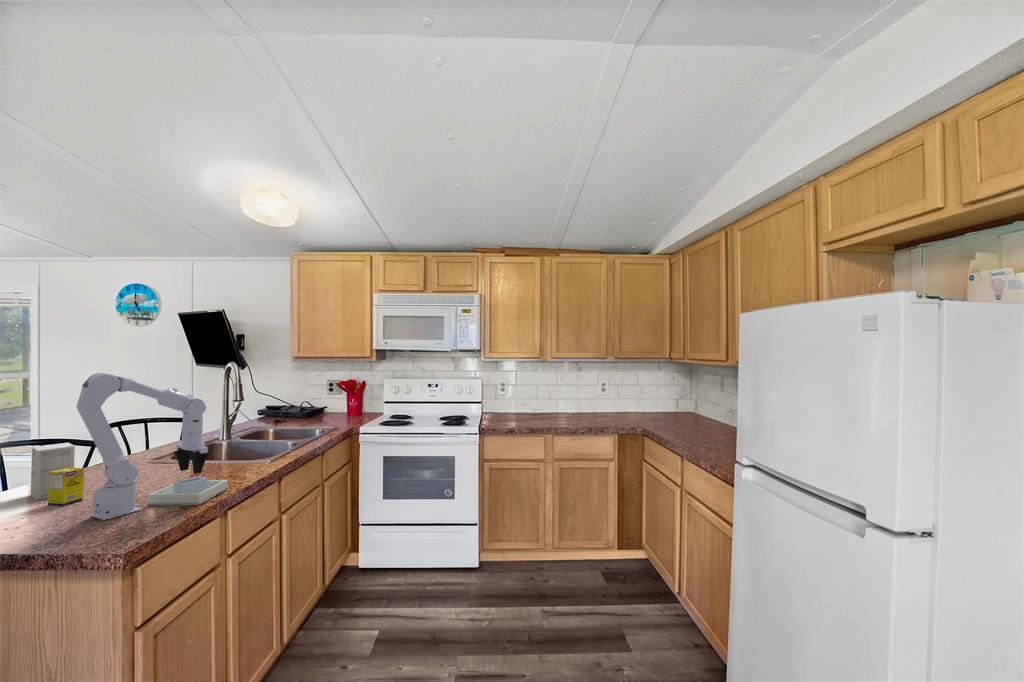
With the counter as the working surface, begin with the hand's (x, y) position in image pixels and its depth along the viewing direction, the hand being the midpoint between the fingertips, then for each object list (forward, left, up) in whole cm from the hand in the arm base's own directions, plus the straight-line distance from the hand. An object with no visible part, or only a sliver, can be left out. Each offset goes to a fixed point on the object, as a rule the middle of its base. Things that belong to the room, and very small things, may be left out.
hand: (190, 471), depth 149 cm
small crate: (0, 0, -8) cm, 8 cm away
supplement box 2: (-19, +45, -9) cm, 50 cm away
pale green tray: (0, 0, -9) cm, 9 cm away
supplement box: (-21, +30, -9) cm, 38 cm away
